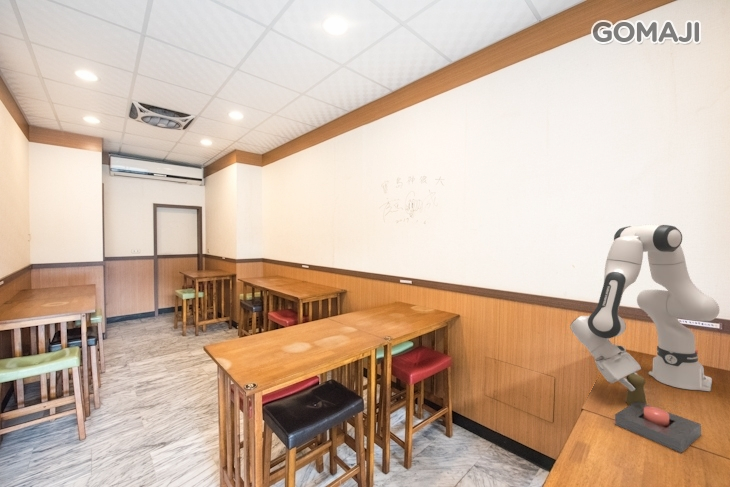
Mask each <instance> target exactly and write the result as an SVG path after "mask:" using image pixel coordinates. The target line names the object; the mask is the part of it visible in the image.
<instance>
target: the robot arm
mask: <svg viewBox="0 0 730 487" xmlns="http://www.w3.org/2000/svg"><path fill="white" fill-rule="evenodd" d="M682 241H683V234H682V232H681V230H680V229H679V228H677V227H676V226H673V225H669V224H643V225H634V226H631V225H629V226H624V227H621V228H619V229H617V231H616V232H615V233H614V236H613V242H612V243H611V246H610V248H609V251H608V253H607V257H606V261H605V267H604V275H603V276H604V277H603V285H602V290H601V292H600V297H599V299H598V303H597V306H596V308H595V310H594V311H592V313H591V314H590V315H580V316H577V317H576V318H575V319H573V321H572V322H571V323H570V330H571V332H572V333H573V335H574V336H575V337H576V338H577V339H578V341H579V342H580V344H582V345H583V346H585V348H586V349H587V350H588V352H589V353H590V355H591V356H592V357H593V358H594V362H595V365H596V368H597V369H598V371H599V373H600V374H601V375H602V377H603V378H604V379H605V380H606V381H607V382H608V383H609V384H614V383H616V382H619V383H620V384H621V385H622V386H624V387H626V388H627V390H628V389H629V390H630V391H634V390H636V387H635V386H634V385H633V384H630V383H629V382H628V381H627V376H628V375H630V374H637V375H639V374H638V373H637V372H638V371H640V370H641V369H642V368H641V365H640V363H639V362H637V360H636V359H635V358H634V357H633V356H632V355H631V354H630V353H629V352H627V349H626V348H625V347H624V346H623V345H620V344H619V345H618V344H613V342H611V340H610V339H612V338H615V337H619V336H621V335H623V334H624V333H625V331H626V327H627V324H626V322H625V319H624V318H622V317H621V316H620V315H619V309H620V305H621V303H622V297H623V295H624V293H625V291H626V289H627V288H628V287H630V286H631V285H632V284H634V283H635V282H636V280H637V278H638V277H639V275H640V272H641V270H642V266H643V258H644V252H645V253H646V252H647V260H648V267H649V270H650V271H649V272H650V277H651V279H652V280H653V282H655V283H656V284H658V285H660V286H662V287H663V288H665V289H666V290H665V289H663V290H662V289H643V290H642V291H640V292H639V293H638V295H637V297H636V303H637V305H638V307H639V308H640V309H641V310H642V311H644V313H646V314H647V315H648V316H649V318H650V319H651V320H652V322H653V324H654V326H655V328H656V333H657V344H658V345H657V346H656V356H654V357H653V358H652V370H651V371H648V375H650V376H652V377H653V378H654V379H655V380H656V381H658V382H660V383H662V384H664V385H667V386H670V387H674V388H678V389H683V390H688V391H689V390H691V391H703V392H711V390H712V384H713V379H712V377H710V376H707V375H705V371H704V370H705V369H704V366H703V365H702V363H700V361H699V356H698V355H699V351H698V349H696V336H695V334H694V332H693V331H692V330H691V329H690V328H688V327H686V326H685V325H683V324H682V322H680V320H679V319H681V320H682V319H683V320H687V321H688V320H689V321H695V322H696V321H697V322H699V321H700V322H711V321H713V320H715V319H716V318H717V317H719V313H720V306H719V304H718V302H717V301H716V300H715V299H714V298H712V297H710V296H709V295H707V294H706V293H704V292H702V290H700V289H699V288H698V287H697V286H696V285H695V283H694V282H693V281H692V279H691V276H690V274H689V270H688V267H687V264H686V258H685V254H684V251H683V248H682V245H681V244H682Z"/></svg>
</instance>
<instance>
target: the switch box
mask: <svg viewBox="0 0 730 487" xmlns="http://www.w3.org/2000/svg"><path fill="white" fill-rule="evenodd" d="M646 406H650V407H653V406H651V405H649V404H647V405H646V404H643V403H641V402H638V401H636V402H635V403H633V404H631V405H627V407H625V408H624V409H621V410H619V411H618V412H617V413H614V424H615V425H616V426H618V427H619V428H622V429H625V430H627V431H629V432H631V433H634V434H637V435H638V436H641V437H643V438H645V439H648V440H650V441H652V442H655V443H657V444H659V445H661V446H663V447H667V448H669V449H671V450H673V451H675V452H677V453H681V454H682V453H683V452H684V451H686V449H688V448H689V447H690V446H691V445H692V444H693V443H695V441H696V440H698V439H699V438H700V437H701V436H702V425H701V424H702V423H699V422H696V421H694V420H691V419H687V418H686V417H683V416H679V415H677V414H674V413H671V412H668V411H666V412H667V413H668V414H669V424H670V426H668V427H667V428H665V427H662V426H660V425H657V424H655V423H652V422H650V421H647V420H645V419H644V407H646Z"/></svg>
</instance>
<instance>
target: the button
mask: <svg viewBox="0 0 730 487" xmlns="http://www.w3.org/2000/svg"><path fill="white" fill-rule="evenodd" d="M650 406H651V405H649V406H646V407H644V419H645V420H647V421H650V422H652V423H655V424H657V425H660V426H662V427H665V428H667V427H668V426H670V424H669V414H668V413H667V412H668V411H666V410H664V409H662V408H659V407H656V406H652V407H650Z"/></svg>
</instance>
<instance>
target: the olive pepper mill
mask: <svg viewBox="0 0 730 487" xmlns="http://www.w3.org/2000/svg"><path fill="white" fill-rule="evenodd" d="M637 374H638V373H637ZM637 374H630V375H628V376H626V379H627V381H628V382H629V383H630V384H633V385H634V386H635V387H636V390H634V391H630V390H629V389H628V388H627V392H626V399H625V402H627V403H628V406H630V405H631V404H633V403H635V402H636V401H638V402H641V403H643V404H646V405H648V403H647V399H646V394H645V387H644V386H645V384H646V380H645V378H644V377H643V376H642V375H640V374H638V375H637ZM627 403H626V404H627Z"/></svg>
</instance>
